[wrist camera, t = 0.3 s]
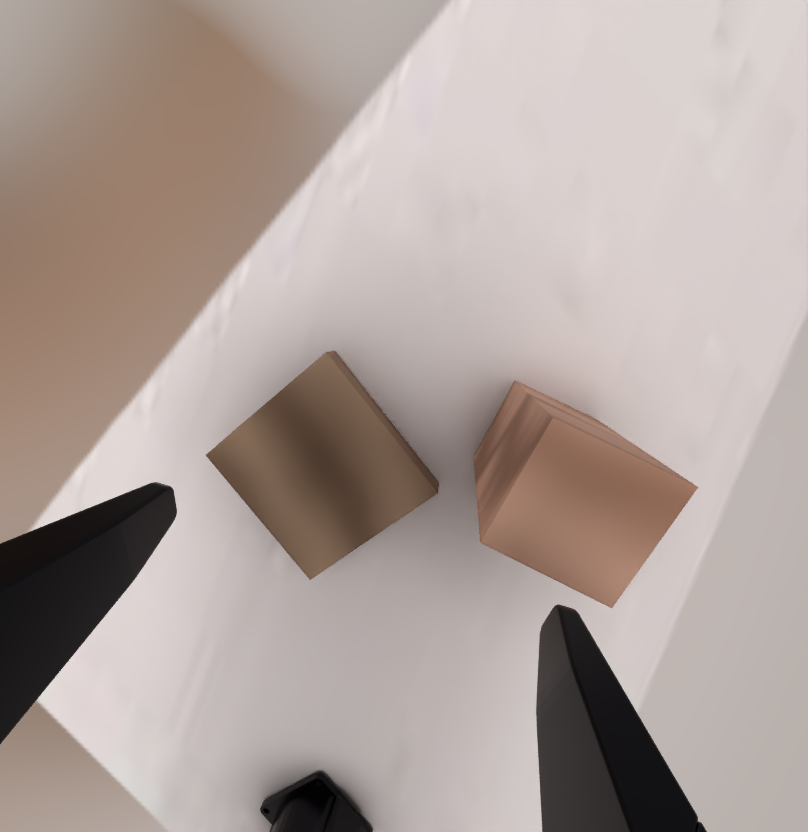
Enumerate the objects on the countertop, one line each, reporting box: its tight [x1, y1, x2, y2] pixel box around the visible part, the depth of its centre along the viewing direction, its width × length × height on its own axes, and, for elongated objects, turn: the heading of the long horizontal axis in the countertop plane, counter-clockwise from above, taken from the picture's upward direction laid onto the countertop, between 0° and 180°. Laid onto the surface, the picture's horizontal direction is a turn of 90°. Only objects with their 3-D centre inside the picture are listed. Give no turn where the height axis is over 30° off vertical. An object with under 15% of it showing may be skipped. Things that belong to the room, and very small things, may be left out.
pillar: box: [474, 381, 698, 608], centre depth 18 cm, size 5×5×10 cm
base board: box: [206, 351, 439, 580], centre depth 25 cm, size 10×10×2 cm
